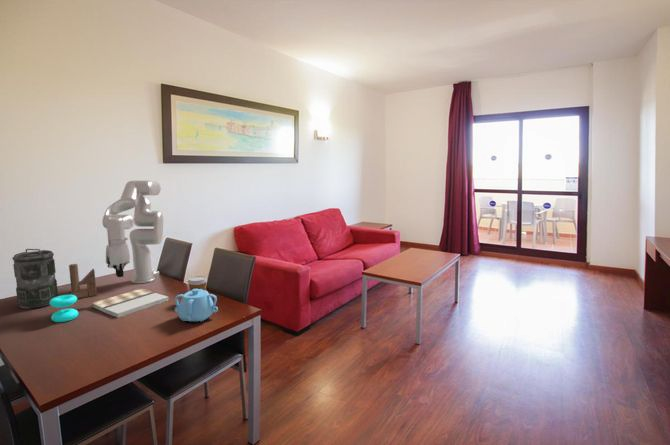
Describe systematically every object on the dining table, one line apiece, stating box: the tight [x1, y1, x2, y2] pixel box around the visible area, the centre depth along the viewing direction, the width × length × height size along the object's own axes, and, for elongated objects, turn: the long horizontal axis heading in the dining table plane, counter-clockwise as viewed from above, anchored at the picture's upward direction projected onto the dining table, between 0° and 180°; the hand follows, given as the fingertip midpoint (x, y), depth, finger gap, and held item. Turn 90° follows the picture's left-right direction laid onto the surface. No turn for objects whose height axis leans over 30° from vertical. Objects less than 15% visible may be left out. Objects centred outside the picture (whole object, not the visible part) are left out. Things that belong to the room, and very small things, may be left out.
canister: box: [11, 248, 59, 310], centre depth 183 cm, size 16×16×28 cm
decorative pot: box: [174, 289, 219, 323], centre depth 170 cm, size 16×16×14 cm
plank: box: [91, 287, 153, 313], centre depth 189 cm, size 26×10×2 cm, turn 149°
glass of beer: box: [187, 275, 208, 291], centre depth 191 cm, size 10×10×12 cm
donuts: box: [49, 294, 79, 323], centre depth 167 cm, size 10×10×10 cm
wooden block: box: [68, 263, 97, 300], centre depth 194 cm, size 4×11×18 cm, turn 130°
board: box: [103, 291, 170, 318], centre depth 184 cm, size 26×12×2 cm, turn 149°
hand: (120, 276), depth 190 cm, fingers closed
